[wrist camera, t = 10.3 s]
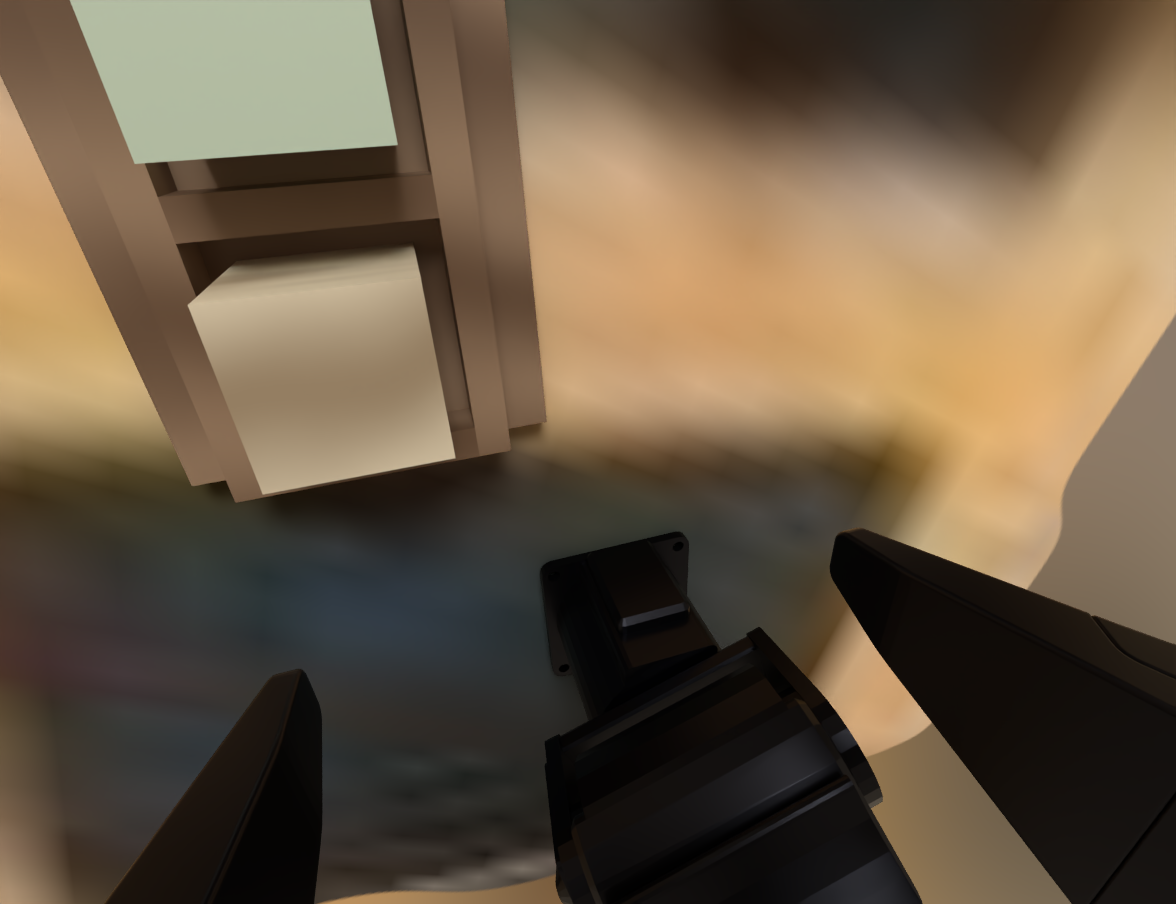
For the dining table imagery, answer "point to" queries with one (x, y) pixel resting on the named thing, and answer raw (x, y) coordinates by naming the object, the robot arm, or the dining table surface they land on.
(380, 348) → the maple block
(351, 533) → the dining table surface
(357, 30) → the sage block
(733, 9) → the dining table surface
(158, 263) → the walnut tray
